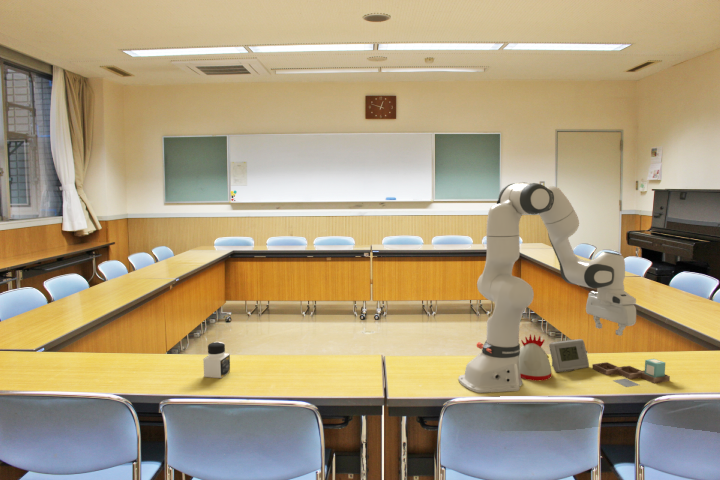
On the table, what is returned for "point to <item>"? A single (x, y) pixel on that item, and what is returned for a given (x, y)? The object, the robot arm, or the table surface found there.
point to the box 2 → (629, 372)
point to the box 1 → (606, 368)
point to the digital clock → (568, 355)
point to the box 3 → (655, 380)
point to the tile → (626, 382)
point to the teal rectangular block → (654, 368)
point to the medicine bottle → (216, 361)
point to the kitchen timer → (534, 360)
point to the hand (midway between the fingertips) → (608, 331)
